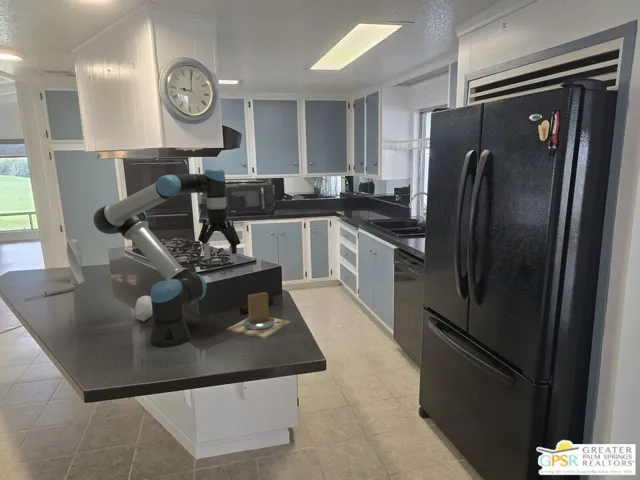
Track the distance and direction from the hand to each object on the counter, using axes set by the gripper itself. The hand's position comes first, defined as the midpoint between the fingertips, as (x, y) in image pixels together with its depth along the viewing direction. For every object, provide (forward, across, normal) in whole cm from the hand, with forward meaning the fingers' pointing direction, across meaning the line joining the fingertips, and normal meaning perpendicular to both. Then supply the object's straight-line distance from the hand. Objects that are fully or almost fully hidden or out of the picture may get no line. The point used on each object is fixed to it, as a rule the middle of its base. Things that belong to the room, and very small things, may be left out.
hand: (219, 260), depth 174 cm
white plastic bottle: (+31, +44, +3) cm, 54 cm away
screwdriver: (+31, +120, +4) cm, 124 cm away
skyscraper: (+31, +132, -19) cm, 137 cm away
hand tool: (+31, +5, -30) cm, 43 cm away
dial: (+29, -10, -11) cm, 33 cm away
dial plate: (+31, -10, -11) cm, 34 cm away
